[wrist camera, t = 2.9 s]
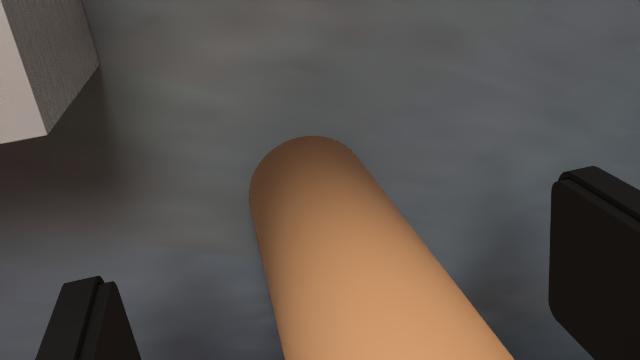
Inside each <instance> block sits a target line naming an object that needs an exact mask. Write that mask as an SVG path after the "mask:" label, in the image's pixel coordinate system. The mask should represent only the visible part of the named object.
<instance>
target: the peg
mask: <svg viewBox="0 0 640 360" xmlns="http://www.w3.org/2000/svg"><path fill="white" fill-rule="evenodd" d="M249 202H250V208H251V213H252V217H253V221H254V226H255V230H256V235H257V239H258V243H259V248H260V252H261V257H262V261H263V266H264V270H265V274H266V279H267V283H268V288H269V292H270V296H271V301H272V305H273V310H274V314H275V318H276V323H277V327H278V332H279V336H280V340H281V345H282V349H283V354H284V358H285V360H514V358H513V357H512V356H511V354H510V353H509V352H508V351H507V349H506V348H505V347H504V345H503V344H502V343H501V342H500V340H499V339H498V338H497V336H496V335H495V334H494V333H493V331H492V330H491V329H490V327H489V326H488V325H487V324H486V322H485V321H484V320H483V318H482V317H481V316H480V315H479V313H478V312H477V311H476V309H475V308H474V307H473V306H472V304H471V303H470V302H469V300H468V299H467V298H466V297H465V295H464V294H463V293H462V291H461V290H460V289H459V288H458V286H457V285H456V284H455V282H454V281H453V280H452V279H451V277H450V276H449V275H448V273H447V272H446V271H445V270H444V268H443V267H442V266H441V264H440V263H439V262H438V261H437V259H436V258H435V257H434V255H433V254H432V253H431V252H430V250H429V249H428V248H427V246H426V245H425V244H424V243H423V241H422V240H421V239H420V237H419V236H418V235H417V234H416V232H415V231H414V230H413V228H412V227H411V226H410V225H409V223H408V222H407V221H406V219H405V218H404V217H403V216H402V214H401V213H400V212H399V210H398V209H397V208H396V206H395V205H394V204H393V203H392V201H391V200H390V199H389V197H388V196H387V195H386V194H385V192H384V191H383V190H382V188H381V187H380V186H379V185H378V183H377V182H376V181H375V179H374V178H373V177H372V176H371V174H370V173H369V172H368V170H367V169H366V168H365V167H364V165H363V164H362V163H361V161H360V160H359V159H358V158H357V156H356V155H355V154H354V153H353V152H352V151H351V150H350V149H349V148H347V147H346V146H345V145H343V144H341V143H340V142H338V141H335V140H333V139H329V138H326V137H319V136H306V137H300V138H296V139H292V140H290V141H287V142H285V143H283V144H281V145H279V146H277V147H276V148H275V149H273V150H272V151H271V152H270V153H269V154H267V155H266V156H265V157H264V159H263V160H262V161H261V162H260V164H259V165H258V167H257V168H256V170H255V172H254V175H253V177H252V180H251V183H250V189H249Z"/></svg>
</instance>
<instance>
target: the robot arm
mask: <svg viewBox="0 0 640 360" xmlns="http://www.w3.org/2000/svg"><path fill="white" fill-rule="evenodd" d="M549 306H550V310H551V312H552V314H553V316H554V318H555V319H556V320H557V321H558V322H559V323H560V324H561V325H562V326H563V327H564V328H565V329H566V330H567V332H568V333H569V334H570V335H571V336H572V337H573V338H574V339H575V340H576V341H577V342H578V343H579V344H580V345H581V346H582V347H583V348H584V349H585V350H586V351H587V352H588V353H589V354H590V355H591V356H592V357H593V358H594V359H595V360H640V190H638V189H636V188H634V187H633V186H631V185H629V184H627V183H625V182H623V181H622V180H620V179H618V178H616V177H614V176H613V175H611V174H609V173H607V172H605V171H603V170H602V169H600V168H598V167H595V166H590V167H585V168H581V169H576V170H572V171H567V172H563V173H562V174H561V175H560V177H559V179H558V181H557V182H555V183H554V184H553V186H552V191H551V226H550V263H549ZM35 360H141V357H140V354H139V351H138V348H137V345H136V342H135V339H134V336H133V333H132V330H131V327H130V324H129V321H128V318H127V315H126V312H125V309H124V306H123V303H122V300H121V297H120V294H119V291H118V288H117V285H116V284H115V282H114V281H112V282H107V283H104V281H103V279H102V278H101V277H100V276H95V277H91V278H86V279H82V280H77V281H73V282H68V283H65V284H64V285H63V286H62V289H61V291H60V294H59V297H58V299H57V302H56V305H55V308H54V310H53V313H52V316H51V318H50V321H49V324H48V327H47V329H46V332H45V335H44V337H43V340H42V343H41V346H40V348H39V351H38V354H37V356H36V359H35Z"/></svg>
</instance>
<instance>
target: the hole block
mask: <svg viewBox="0 0 640 360" xmlns="http://www.w3.org/2000/svg"><path fill="white" fill-rule="evenodd" d="M99 65H100V63H99V60H98V57H97V53H96V50H95V46H94V43H93V39H92V36H91V33H90V29H89V26H88V22H87V19H86V15H85V12H84V9H83V5H82V2H81V0H0V144H2V143H8V142H13V141H18V140H24V139H29V138H34V137H40V136H45V135H48V133H49V132H50V131H51V129H52V128H53V127H54V125H55V124H56V123H57V121H58V120H59V119H60V117H61V116H62V115H63V113H64V112H65V110H66V109H67V108H68V106H69V105H70V104H71V102H72V101H73V100H74V98H75V97H76V96H77V94H78V93H79V92H80V90H81V89H82V88H83V86H84V85H85V83H86V82H87V81H88V79H89V78H90V77H91V75H92V74H93V73H94V71H95V70H96V69H97V67H98V66H99Z"/></svg>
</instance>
